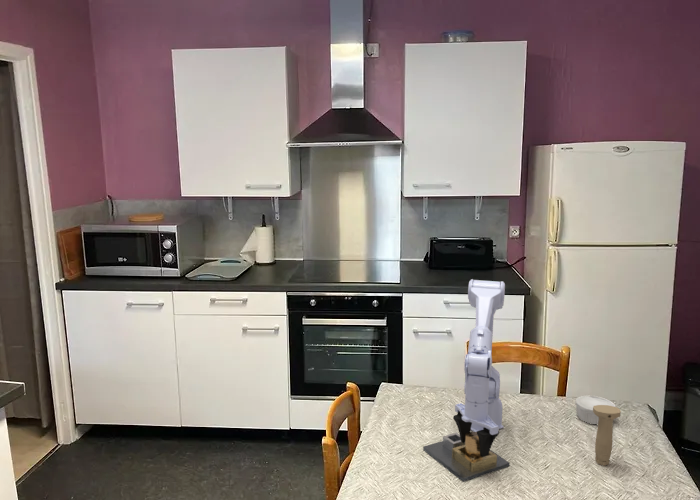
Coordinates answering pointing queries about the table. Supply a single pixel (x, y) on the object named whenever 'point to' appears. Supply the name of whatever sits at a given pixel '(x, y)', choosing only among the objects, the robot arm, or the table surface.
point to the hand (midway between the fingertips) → (474, 448)
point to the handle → (604, 432)
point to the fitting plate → (463, 458)
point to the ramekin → (590, 407)
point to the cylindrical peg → (472, 446)
